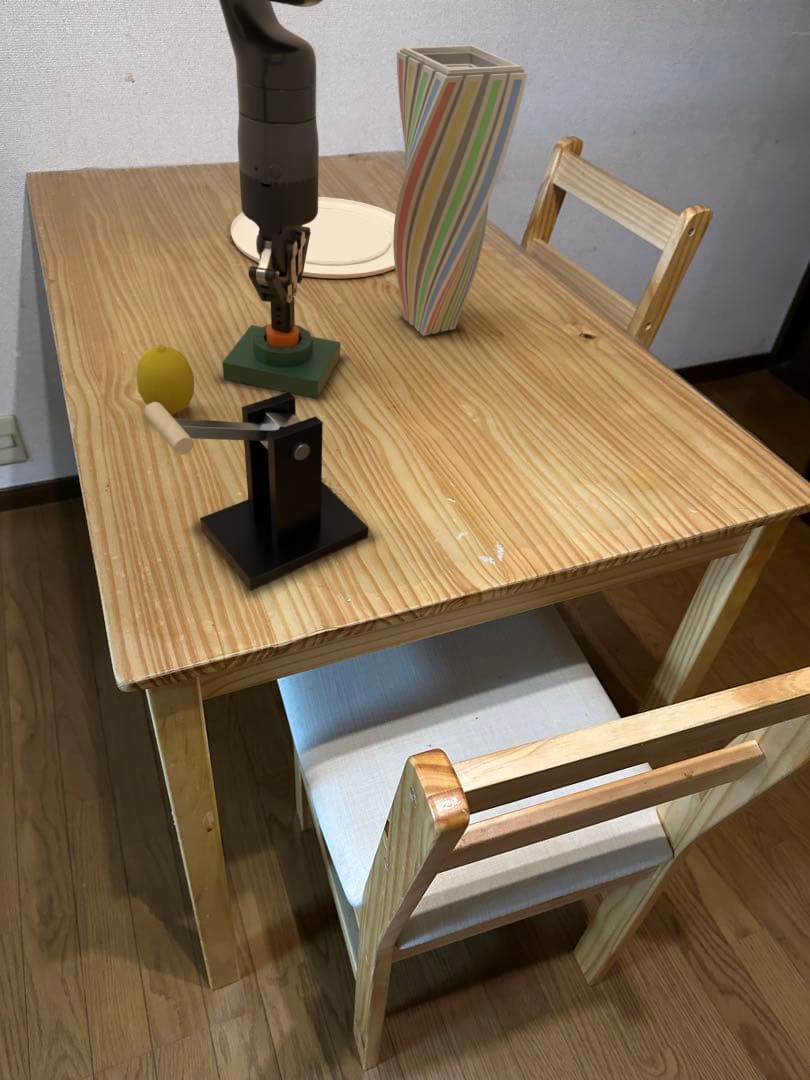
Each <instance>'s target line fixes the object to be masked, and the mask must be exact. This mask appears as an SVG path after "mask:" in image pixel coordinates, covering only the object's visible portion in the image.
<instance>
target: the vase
mask: <svg viewBox="0 0 810 1080" xmlns="http://www.w3.org/2000/svg"><path fill="white" fill-rule="evenodd" d="M522 67H523V66H522V65H520V64H517V63H515V62H513V61H510V60H509V59H506V58H504V57H501V56H499V55H498V54H497V55H496V54H494V53H492V52H490V51H487V50H486V49H483V48H481V47H478V46H476V45H473V44H459V45H434V46H433V45H432V46H431V45H430V46H404V47H402V48H401V49H399V51H396V74H397V75H396V76H397V89H398V101H399V112H400V121H401V127H402V134H403V135H402V136H403V141H404V153H405V156H404V174H403V180H402V183H401V188H400V192H399V197H398V201H397V204H396V210H395V215H396V216H395V223H394V238H393V247H394V263H395V269H394V270H395V276H396V281H397V282H396V283H397V288H398V292H399V296H400V302H401V305H402V306H401V307H402V313H403V314H402V315H403V319H404V320H405V321H406V322H408V323H409V325H411V326H412V327H414V329H416V330H417V331H418V332H419V333H420V334H421V336H429V335H433V334H437V333H440V332H446V331H451V330H456V328H457V325H458V322H459V318H460V316H461V314H462V310H463V308H464V306H465V303H466V301H467V298H468V295H469V293H470V291H471V288H472V285H473V282H474V279H475V275H476V272H477V270H478V266H479V261H480V258H481V254H482V251H483V246H484V240H485V236H486V230H487V222H488V213H489V203H490V202H489V201H490V198H491V196H492V194H493V191H494V189H495V187H496V184H497V181H498V179H499V176H500V174H501V171H502V167H503V164H504V161H505V159H506V155H507V152H508V149H509V146H510V143H511V140H512V136H513V133H514V129H515V125H516V121H517V118H518V114H519V110H520V107H521V103H522V100H523V94H524V90H525V86H526V82H527V77H528V73H527V72H525V69H524V68H522Z"/></svg>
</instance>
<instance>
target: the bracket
mask: <svg viewBox="0 0 810 1080" xmlns="http://www.w3.org/2000/svg"><path fill="white" fill-rule="evenodd" d="M266 413H280V414H294V415H295V416H296V417H297V414H296V396H295V395H293V393H290V392H284V393H281V394H278V395H274V396H272V397H269V398H266V399H261V400H259V401H257V402H253V403H250V404H246V405H244V406H241V417H242V418H241V419H242V420H241V421H242V422H244V423H262V422H263V419H264V416H265V414H266ZM300 421H301V422H298V423H295V424H292V425H289V426H286V427H283V428H280V429H278V430H275V431H272V432H269V433H267V435H268V449H267V448H266V447H265V446H264V445H263V444H262V443H261V442H260V441H248V440H243V446H244V448H243V449H244V460H245V461H244V462H245V463H244V464H245V475H246V490H247V499H245V500H243V501H240V502H238V503H235V504H231V505H230V506H227V507H225V508H222V509H219V510H217V511H214V512H212V513H209V514H207V515H204V516H202V517H200V518H199V523H200V529H201V530H202V531H203V532H204V534H205V535H206V536H207V537H208V539H210V541H211V542H212V543H213V545H214V546H215V547H216V548H217V549H218V551H219V552H220V554H222V556H223V558H225V560H226V561H227V563H229V565H230V566H231V567H232V568H233V570H234V571H235V572H236V573H237V574H238V576H239V577H240V578H241V579H242V581H243V582H244V583H245V584H246V586H247V587H248V589H250V590H254V589H256V588H259V587H261V586H263V585H265V584H267V583H269V582H272V581H274V580H277V579H278V578H281V577H283V576H285V575H287V574H289V573H291V572H294V571H296V570H298V569H300V568H303V567H304V566H307V565H309V564H312V563H314V562H316V561H318V560H320V559H322V558H324V557H327V556H329V555H331V554H333V553H336V552H337V551H340V550H342V549H344V548H346V547H349V546H351V545H353V544H355V543H357V542H359V541H360V542H361V541H362V540H364V539H366V538H368V536H369V527H368V525H367V524H366V523H365V522H363V520H362V519H360V517H358V515H357V514H356V513H355V512H354V511H352V510H351V508H349V507H348V506H347V505H346V504H345V502H344V501H343V500H341V498H340V497H339V496H337V494H336V493H334V492H333V490H331V488H330V487H328V486H327V484H325V483H324V482H323V478H322V477H323V432H324V431H323V430H324V427H323V425H324V424H323V421H322V420H321V419H320V418H319V417H318V416H315V415H314V416H312V417H310V418H306V419H304V420H300Z"/></svg>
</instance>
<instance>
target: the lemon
mask: <svg viewBox="0 0 810 1080" xmlns="http://www.w3.org/2000/svg"><path fill="white" fill-rule="evenodd" d="M187 359H188V358H187V357H186V356H185V355H184V354H183V353H182V352H181V351H179V350H177V349H176V348H173V347H170V346H167V345H163V344H158V345H157V346H154V347H152V348H150V349H148V350H147V351H145V352H144V353H143V355H142V356H141V357H140V359H139V361H138V364H137V367H136V382H137V383H136V384H137V385H136V386H137V389H138V390H137V391H138V392H139V395H140V397H141V399H142V400H143V402H144V403H145V405H146V406H147V405H148V404H150V403H152V402H158V403H160V404H161V405H162V406H163V407H164V408H165V409H166V410H167V411H168V413H169V414H170V415H171V416H173V415H175V414H177V413H179V412H181V411H183V410H184V409H186V408H187V407H188V406H189V404H190V403H191V401H192V400H193V397H194V392H195V379H194V377H195V376H194V372H193V370H192V368H191V366H190V363H189V360H187Z"/></svg>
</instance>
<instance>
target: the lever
mask: <svg viewBox="0 0 810 1080" xmlns="http://www.w3.org/2000/svg"><path fill="white" fill-rule="evenodd" d="M143 413H144V417H145V418H146V419H147V420H148V422H149V423H150V424H151V425H152V427H153V428H154V429H155V430H156V431H157V433H158V434H160V435H161V437H162V439H164V440H165V441H166V443H167V444H168V445H169V446H170V448H171V449H172V450H173V451H174V452H175V453H176V454H177V455H181V456H184V455H187V454H188V453H190V452H191V451H192V450H193V448H194V446H195V443H194V439H196V440H199V439H200V440H221V441H222V440H223V441H224V440H226V441H244V440H248V441H260V442H261V443H262V444H263V445H264V446H265V447H266V448H267V449H268V435H267V433H269V432H272V431H275V430H278V429H280V428H283V427H286V426H289V425H292V424H295V423H298V422H301V421H302V420H300V419H299V418H298V417H297V415H296V416H295V415H294V414H280V413H266V414H265V416H264V419H263V422H262V423H244V422H243V421H242V422H241V421H223V420H209V419H208V420H205V419H191V418H190V419H189V418H188V419H187V418H174V417H173V415H170V414H169V413H168V411H167V410H166V409H165V408H164V407H163V406H162V405H161V404H160V403H158V402H152V403H150V404H148V405H147V404H146V405H145V408H144V411H143Z"/></svg>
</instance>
